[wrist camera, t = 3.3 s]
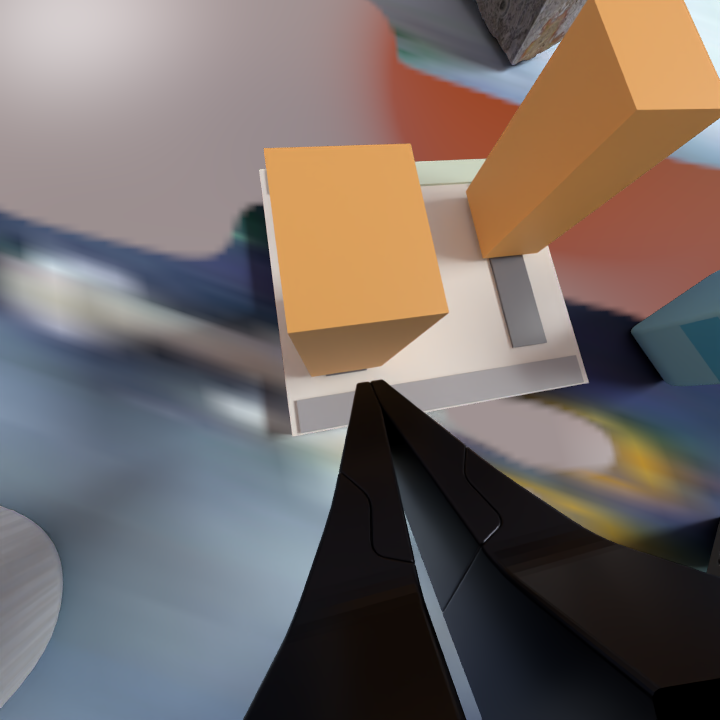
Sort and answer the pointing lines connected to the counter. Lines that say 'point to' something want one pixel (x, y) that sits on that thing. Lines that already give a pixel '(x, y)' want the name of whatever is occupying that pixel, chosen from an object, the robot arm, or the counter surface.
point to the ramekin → (25, 597)
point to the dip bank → (451, 322)
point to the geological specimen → (528, 24)
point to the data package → (685, 336)
